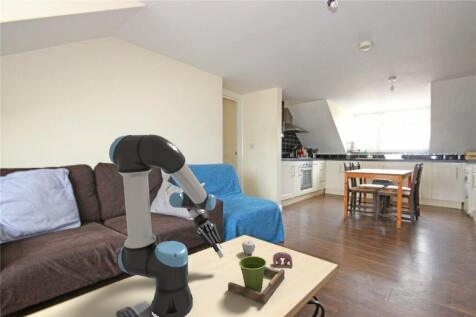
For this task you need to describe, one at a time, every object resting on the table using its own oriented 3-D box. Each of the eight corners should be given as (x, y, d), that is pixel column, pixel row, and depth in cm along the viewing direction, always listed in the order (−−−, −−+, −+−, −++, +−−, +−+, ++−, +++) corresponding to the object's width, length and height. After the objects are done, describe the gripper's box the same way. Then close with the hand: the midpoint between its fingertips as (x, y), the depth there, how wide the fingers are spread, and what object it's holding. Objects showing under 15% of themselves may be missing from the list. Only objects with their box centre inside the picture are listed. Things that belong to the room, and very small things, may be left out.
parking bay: (228, 290, 97) (228, 279, 97) (251, 268, 115) (251, 259, 114) (264, 304, 88) (264, 292, 88) (284, 278, 106) (284, 268, 106)
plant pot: (239, 281, 104) (238, 256, 104) (266, 280, 104) (265, 255, 104) (239, 297, 92) (238, 269, 92) (268, 296, 92) (268, 268, 92)
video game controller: (292, 267, 119) (291, 252, 122) (293, 267, 115) (292, 252, 118) (272, 266, 120) (272, 251, 123) (273, 266, 116) (273, 251, 119)
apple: (244, 249, 137) (244, 238, 137) (256, 251, 135) (257, 239, 134) (239, 254, 130) (239, 243, 130) (253, 256, 127) (253, 245, 127)
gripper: (203, 217, 128) (226, 255, 120) (186, 222, 117) (209, 265, 109) (211, 209, 125) (234, 248, 117) (194, 214, 114) (218, 258, 106)
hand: (222, 256), depth 113 cm, fingers closed
